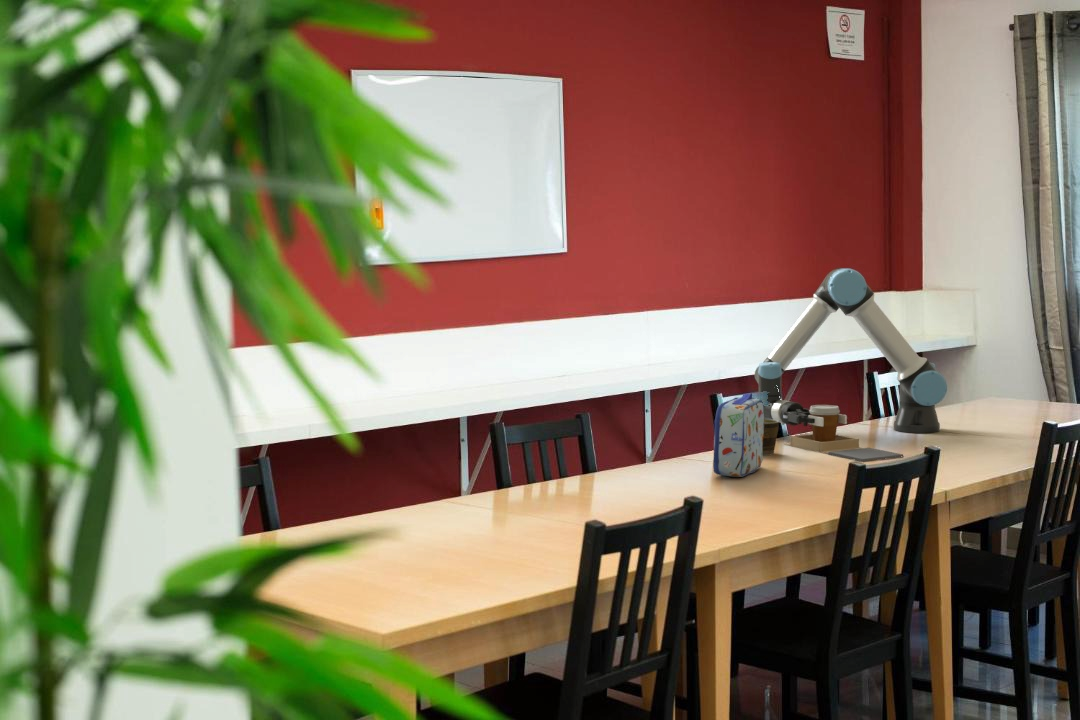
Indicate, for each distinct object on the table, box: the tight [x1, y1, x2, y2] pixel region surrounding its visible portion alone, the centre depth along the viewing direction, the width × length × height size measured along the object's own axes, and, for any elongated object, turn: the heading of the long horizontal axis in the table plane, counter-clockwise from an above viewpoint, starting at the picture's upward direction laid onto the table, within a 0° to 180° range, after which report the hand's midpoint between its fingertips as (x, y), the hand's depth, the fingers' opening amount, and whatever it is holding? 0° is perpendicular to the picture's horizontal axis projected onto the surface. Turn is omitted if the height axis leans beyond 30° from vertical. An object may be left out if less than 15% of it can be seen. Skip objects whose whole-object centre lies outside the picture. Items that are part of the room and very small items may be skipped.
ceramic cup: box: [762, 419, 780, 456], centre depth 395 cm, size 13×10×10 cm
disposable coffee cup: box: [808, 404, 841, 442], centre depth 407 cm, size 10×10×12 cm
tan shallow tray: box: [783, 433, 862, 455], centre depth 407 cm, size 15×21×3 cm
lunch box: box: [712, 392, 764, 478], centre depth 364 cm, size 28×10×22 cm, turn 158°
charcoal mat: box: [827, 447, 904, 463], centre depth 390 cm, size 16×15×1 cm
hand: (834, 420), depth 402 cm, fingers closed on disposable coffee cup, 8 cm apart
